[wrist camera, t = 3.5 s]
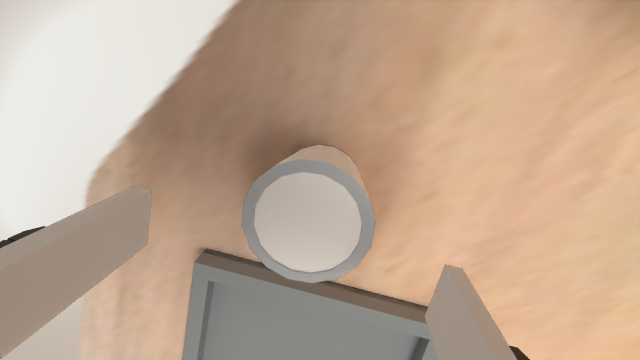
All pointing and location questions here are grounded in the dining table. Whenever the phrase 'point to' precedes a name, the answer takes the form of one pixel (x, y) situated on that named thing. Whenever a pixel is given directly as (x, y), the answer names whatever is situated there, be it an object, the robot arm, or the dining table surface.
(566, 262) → the dining table surface
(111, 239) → the robot arm
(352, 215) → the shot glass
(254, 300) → the tray
